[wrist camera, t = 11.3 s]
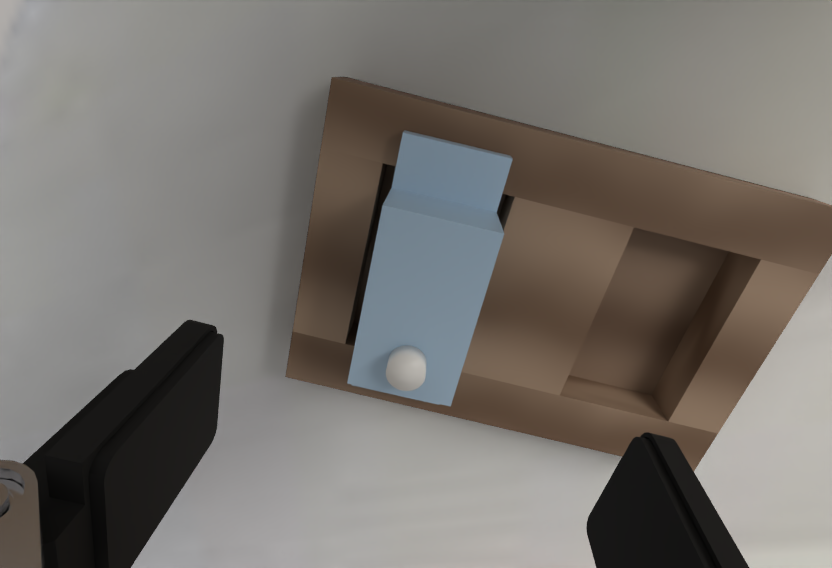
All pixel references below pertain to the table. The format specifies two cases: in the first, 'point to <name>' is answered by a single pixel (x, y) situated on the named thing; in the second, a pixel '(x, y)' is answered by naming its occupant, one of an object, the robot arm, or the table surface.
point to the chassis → (569, 277)
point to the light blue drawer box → (429, 268)
